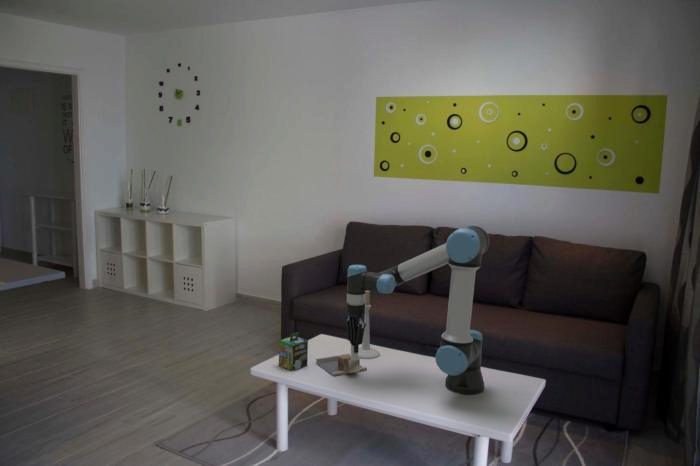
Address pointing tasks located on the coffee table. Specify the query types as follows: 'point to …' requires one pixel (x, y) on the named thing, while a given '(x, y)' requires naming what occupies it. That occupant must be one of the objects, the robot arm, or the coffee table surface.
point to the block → (348, 364)
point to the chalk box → (293, 352)
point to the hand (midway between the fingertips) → (354, 359)
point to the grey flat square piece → (333, 365)
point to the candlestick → (367, 335)
